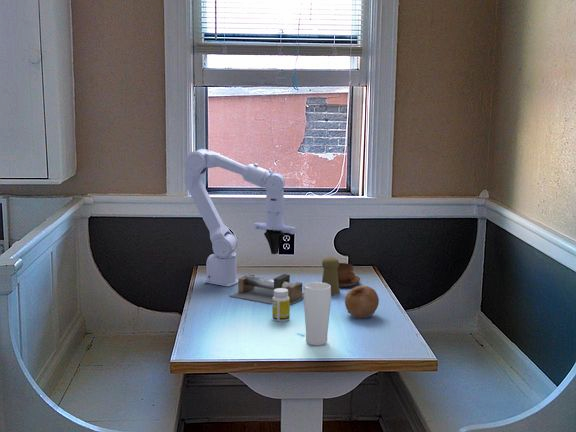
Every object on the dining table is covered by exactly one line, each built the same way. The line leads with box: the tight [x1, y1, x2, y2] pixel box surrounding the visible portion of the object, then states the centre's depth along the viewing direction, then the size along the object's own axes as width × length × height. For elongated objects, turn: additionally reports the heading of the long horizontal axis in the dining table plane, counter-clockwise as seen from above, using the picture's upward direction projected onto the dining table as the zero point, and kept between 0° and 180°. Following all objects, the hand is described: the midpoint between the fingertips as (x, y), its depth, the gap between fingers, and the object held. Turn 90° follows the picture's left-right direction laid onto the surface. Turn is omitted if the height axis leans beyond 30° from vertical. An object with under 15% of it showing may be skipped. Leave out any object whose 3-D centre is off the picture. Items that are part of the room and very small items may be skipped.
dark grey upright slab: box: [273, 273, 291, 289], centre depth 220 cm, size 2×6×6 cm, turn 150°
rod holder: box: [237, 273, 303, 303], centre depth 223 cm, size 19×6×5 cm, turn 60°
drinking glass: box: [303, 281, 332, 347], centre depth 183 cm, size 7×7×15 cm
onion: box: [344, 285, 380, 319], centre depth 204 cm, size 10×9×10 cm
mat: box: [229, 287, 304, 306], centre depth 223 cm, size 20×14×1 cm
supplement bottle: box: [271, 288, 291, 323], centre depth 201 cm, size 5×5×8 cm
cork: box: [321, 257, 341, 296], centre depth 226 cm, size 6×6×11 cm
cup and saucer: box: [337, 262, 361, 288], centre depth 236 cm, size 12×12×6 cm
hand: (274, 253), depth 233 cm, fingers closed
